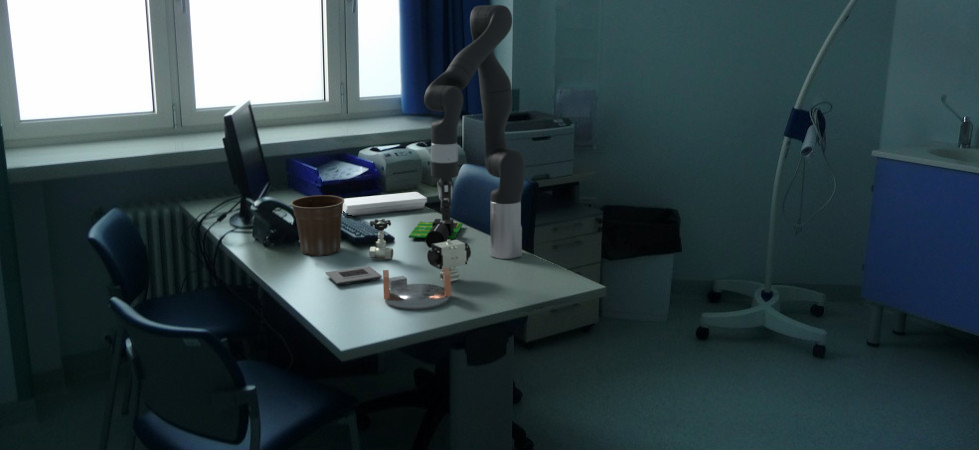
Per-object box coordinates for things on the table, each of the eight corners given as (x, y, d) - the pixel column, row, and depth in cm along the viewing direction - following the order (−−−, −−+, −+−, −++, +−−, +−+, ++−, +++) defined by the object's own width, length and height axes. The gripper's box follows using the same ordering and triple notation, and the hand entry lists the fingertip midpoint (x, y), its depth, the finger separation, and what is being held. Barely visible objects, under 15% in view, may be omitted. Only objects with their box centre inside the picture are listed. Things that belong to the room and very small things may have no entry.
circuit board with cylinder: (419, 207, 308) (462, 208, 306) (419, 226, 309) (462, 227, 308) (400, 229, 279) (448, 231, 277) (401, 250, 281) (448, 252, 279)
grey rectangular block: (403, 284, 250) (403, 275, 249) (407, 286, 248) (406, 278, 247) (386, 287, 247) (386, 278, 247) (390, 289, 245) (390, 281, 245)
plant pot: (300, 261, 270) (297, 209, 266) (288, 247, 285) (285, 198, 280) (352, 254, 277) (350, 204, 273) (339, 241, 291) (336, 193, 287)
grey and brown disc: (447, 287, 246) (447, 261, 244) (452, 308, 230) (452, 281, 228) (383, 290, 244) (382, 264, 242) (384, 312, 228) (383, 284, 226)
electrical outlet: (337, 289, 246) (336, 281, 245) (325, 279, 255) (325, 271, 254) (382, 282, 252) (382, 274, 251) (369, 272, 261) (369, 264, 260)
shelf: (339, 213, 329) (338, 199, 327) (416, 205, 340) (416, 191, 339) (347, 220, 318) (347, 205, 317) (427, 211, 330) (426, 198, 329)
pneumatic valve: (427, 282, 251) (426, 241, 248) (462, 275, 257) (462, 234, 254) (437, 287, 246) (436, 245, 243) (473, 280, 253) (472, 239, 250)
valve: (388, 263, 268) (387, 225, 265) (367, 262, 269) (366, 223, 266) (395, 257, 274) (394, 219, 271) (374, 256, 275) (373, 218, 272)
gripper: (460, 163, 237) (460, 222, 241) (456, 154, 251) (456, 210, 255) (431, 164, 236) (432, 223, 240) (429, 154, 250) (430, 210, 254)
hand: (445, 216), depth 248 cm, fingers open, 8 cm apart
